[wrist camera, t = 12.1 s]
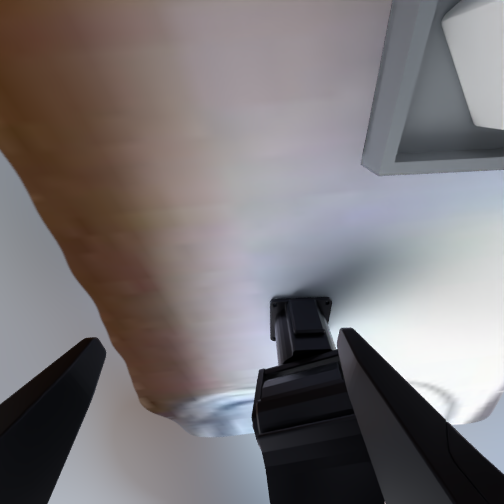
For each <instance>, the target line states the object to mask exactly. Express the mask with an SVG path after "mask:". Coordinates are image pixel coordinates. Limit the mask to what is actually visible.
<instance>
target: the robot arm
mask: <svg viewBox="0 0 504 504" xmlns="http://www.w3.org/2000/svg"><path fill="white" fill-rule="evenodd" d="M327 301H328V302H327ZM331 306H332V301H331V299H330V298H329V297H317V298H293V299H273V300H271V301H270V337H271V340H272V341H276V346H277V355H278V365H279V366H275V367H272V368H268V369H265V368H264V369H261V370H259V373H258V379H257V385H256V392H255V398H254V405H253V411H252V422H253V429H254V432H255V435H256V440H257V442H258V445H259V447H260V449H261V451H262V455H263V459H264V464H265V469H266V475H267V483H268V490H269V498H270V504H385V503H386V504H504V474H503V473H502V472H501V471H500V470H498V469H497V468H496V467H495V466H494V465H493V464H492V463H491V462H489V461H488V460H487V459H486V458H485V457H484V456H483V455H482V454H481V453H479V451H478V450H477V449H475V448H474V447H473V446H472V445H471V444H470V443H469V442H468V441H467V440H466V439H465V438H464V437H463V436H462V435H461V434H460V433H459V432H458V431H457V430H456V429H455V428H454V427H453V426H452V425H451V424H450V423H449V422H446V420H445V419H444V418H443V417H442V416H441V415H440V414H439V413H438V412H437V411H436V410H435V409H434V408H433V407H432V406H431V405H430V404H429V403H428V402H427V401H426V400H425V399H424V398H423V397H422V396H421V395H420V394H419V393H418V392H417V391H416V390H415V389H414V388H413V387H412V386H411V385H410V384H409V383H408V382H407V381H406V380H405V379H404V378H403V377H402V376H401V375H400V374H399V373H398V372H397V371H396V370H395V369H394V368H393V367H392V366H391V365H390V364H389V363H388V362H387V361H386V360H385V359H384V358H383V357H382V356H381V355H380V354H379V353H378V352H377V351H375V350H374V349H373V348H372V347H371V346H370V345H369V344H368V343H367V342H366V341H365V340H364V339H363V338H362V337H361V336H360V335H359V334H358V333H357V332H356V331H355V330H354V329H353V328H341V329H340V331H339V336H338V340H337V348H338V349H336V347H335V344H334V341H333V338H332V335H331V332H330V330H329V327H328V322H329V316H330V311H331ZM105 358H106V350H105V348H104V347H103V345H102V344H101V342H100V340H99V339H98V338H96V337H92V338H85V339H83V340H82V341H80V342H79V343H78V344H77V345H75V346H74V347H73V348H71V349H70V350H69V351H68V352H66V353H65V354H64V355H62V356H61V357H60V358H59V359H57V360H56V361H55V362H53V363H52V364H51V365H50V366H48V367H47V368H46V369H45V370H43V371H42V372H41V373H40V374H38V375H37V376H36V377H34V378H33V379H32V380H31V381H29V382H28V383H27V384H26V385H24V386H23V387H22V388H20V389H19V390H18V391H17V392H15V393H14V394H13V395H11V396H10V397H9V398H8V399H6V400H5V401H4V402H2V403H1V404H0V504H47V503H48V501H49V499H50V497H51V494H52V492H53V490H54V487H55V485H56V483H57V480H58V478H59V476H60V473H61V471H62V469H63V466H64V464H65V462H66V459H67V457H68V455H69V452H70V450H71V448H72V445H73V443H74V441H75V438H76V436H77V434H78V431H79V429H80V427H81V424H82V422H83V419H84V417H85V414H86V412H87V410H88V408H89V405H90V403H91V400H92V398H93V395H94V392H95V389H96V386H97V383H98V380H99V376H100V373H101V370H102V367H103V364H104V361H105Z"/></svg>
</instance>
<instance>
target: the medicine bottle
mask: <svg viewBox="0 0 504 504" xmlns="http://www.w3.org/2000/svg"><path fill="white" fill-rule="evenodd" d="M441 23H442V28H443V31H444V34H445V37H446V40H447V44H448V47H449V50H450V53H451V56H452V59H453V62H454V65H455V68H456V71H457V74H458V77H459V80H460V84H461V87H462V90H463V93H464V96H465V99H466V102H467V105H468V108H469V111H470V114H471V117H472V120H473V123H474V124H475V125H476V126H480V127H487V128H494V129H501V130H504V0H461V1H460V2H459V3H458V4H456V5H455V6H454V7H453V8H452V9H451V10H450V11H448V12H447V13H446V14H445V16H444V17H443V19H442V22H441Z"/></svg>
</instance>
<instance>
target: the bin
mask: <svg viewBox="0 0 504 504" xmlns="http://www.w3.org/2000/svg"><path fill="white" fill-rule="evenodd" d="M460 1H461V0H393V1H392V7H391V12H390V17H389V22H388V27H387V32H386V37H385V43H384V48H383V53H382V58H381V63H380V68H379V73H378V78H377V84H376V89H375V94H374V99H373V104H372V109H371V114H370V120H369V125H368V130H367V135H366V140H365V145H364V150H363V156H362V161H361V165H362V166H364V167H365V168H367V169H368V170H370V171H371V172H373V173H375V174H376V175H378V176H389V175H409V174H428V173H448V172H468V171H488V170H504V130H501V129H494V128H487V127H480V126H476V125H475V124H474V123H473V120H472V117H471V114H470V111H469V108H468V105H467V102H466V99H465V96H464V93H463V90H462V87H461V84H460V80H459V77H458V74H457V71H456V68H455V65H454V62H453V59H452V56H451V53H450V50H449V47H448V44H447V40H446V37H445V34H444V31H443V28H442V23H441V22H442V19H443V17H444V16H445V14H446V13H447V12H448V11H450V10H451V9H452V8H453V7H454V6H455V5H456V4H458V3H459V2H460Z"/></svg>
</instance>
